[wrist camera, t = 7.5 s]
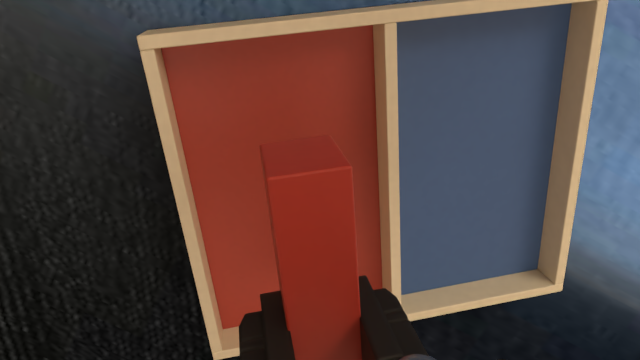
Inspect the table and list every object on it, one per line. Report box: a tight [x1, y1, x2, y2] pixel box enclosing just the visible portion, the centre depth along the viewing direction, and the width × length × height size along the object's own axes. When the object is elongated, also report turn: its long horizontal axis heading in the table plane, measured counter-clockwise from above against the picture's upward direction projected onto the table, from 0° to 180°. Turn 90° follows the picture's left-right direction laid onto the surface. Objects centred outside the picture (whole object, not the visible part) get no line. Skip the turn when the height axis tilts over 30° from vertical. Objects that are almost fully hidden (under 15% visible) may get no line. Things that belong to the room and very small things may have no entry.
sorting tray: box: [137, 0, 608, 360], centre depth 25 cm, size 18×22×3 cm
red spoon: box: [259, 135, 362, 360], centre depth 14 cm, size 12×4×2 cm, turn 5°
